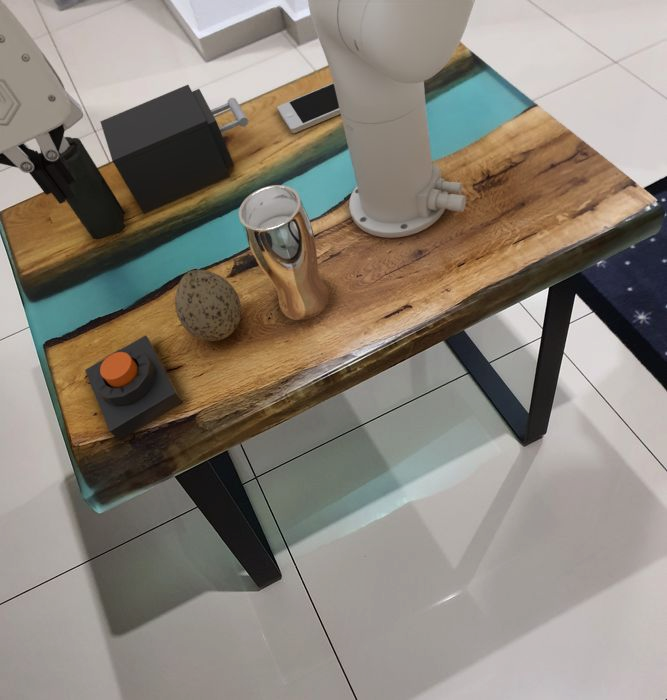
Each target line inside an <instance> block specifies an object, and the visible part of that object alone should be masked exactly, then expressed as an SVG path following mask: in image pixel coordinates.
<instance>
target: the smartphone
mask: <svg viewBox="0 0 667 700" xmlns="http://www.w3.org/2000/svg"><path fill="white" fill-rule="evenodd" d="M277 111H278V114H279V115H280V116H281V118H282V120H283V121H284V123H285V125H286V127H287V128H288V129H289V131H290V132H291V134H297V133H299V132H301V131H304V130H306V129H308V128H310V127H313V126H316V125H318V124H320V123H323V122H324V121H327V120H329V119H331V118H334V117H336V116H339V115H341V113H340V109H339V104H338V100H337V95H336V91H335V87H334V83H333V82H331V83H329V84H326V85H325V86H322V87H320V88H318V89H315V90H313V91H310V92H308V93H306V94H302V95H301V96H299V97H296V98H293V99H291V100H289V101H287V102H283V103H281V104H280V105H278V106H277Z"/></svg>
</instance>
